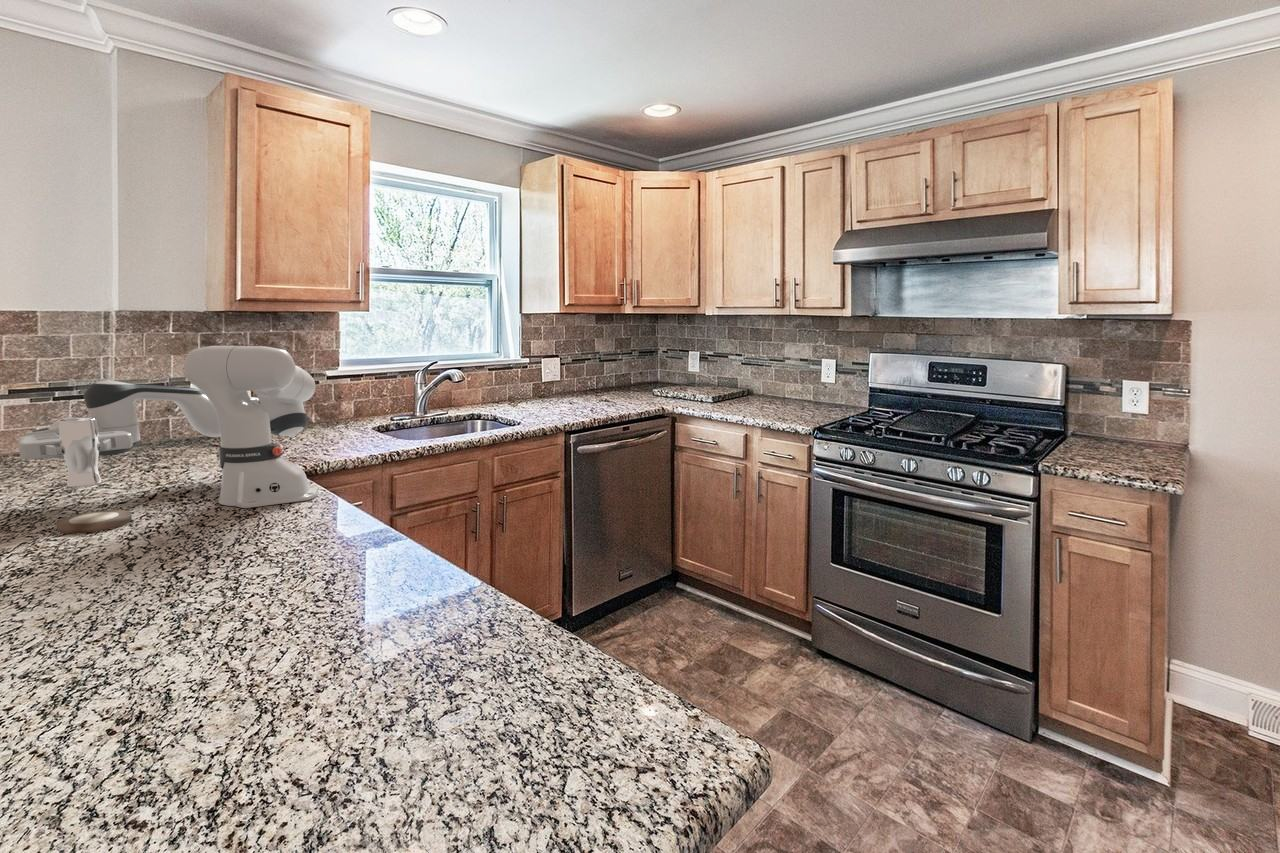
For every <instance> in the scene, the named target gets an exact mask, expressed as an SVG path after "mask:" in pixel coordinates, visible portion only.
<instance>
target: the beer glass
mask: <svg viewBox="0 0 1280 853" xmlns="http://www.w3.org/2000/svg"><path fill="white" fill-rule="evenodd" d="M66 418H67V417H66ZM60 419H61V420H59V419H58V420H59V440H60V446H61V448H62V453H63V455H64V458H65V459H64V461H65V464H66V467H67V474H68V475H67V482H66V484H67V487H68V488H83V487H84V488H86V487H92V486H96V485H97V486H98V485H100V484H102V477H101V476H100V475H101V474H100V472H99V457H100V456H99V444H100V439H99V430H98V425H97V421H96V418H93V417H89V416H88V417H87V416H86V417H85V416H84V417H83V416H82V417H74V418H67V419H62V418H60Z"/></svg>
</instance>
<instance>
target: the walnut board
mask: <svg viewBox="0 0 1280 853" xmlns="http://www.w3.org/2000/svg"><path fill="white" fill-rule="evenodd" d="M131 520H132V512H130V511H127V510H124V509H123V510H121V509H118V510H117V509H116V510H115V509H111V510H99V511H92V512H85V513H80V514H75V515H71V516H67V517H64V518H61V519H59V520H58V521H56V523H55V528H56V532H57V531H58V532H57V533H59V532H60V534H64V533H71V534H70V535H73V534H72V533H75V534H74V535H77V534H76V533H82V534H88V533H87V532H92V533H97V532H96V531H99V532H102V531H101V530H104V531H108V530H107V529H109V530H112V529H111V528H113V529H117V528H119V526H121V527H123V526H125V525H124V524H126V525H128V524H130V523H131V522H132V521H133V520H132V521H131ZM130 521H131V522H130ZM129 522H130V523H129ZM127 523H128V524H127ZM122 525H123V526H122ZM116 527H117V528H116Z"/></svg>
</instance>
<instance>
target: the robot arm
mask: <svg viewBox="0 0 1280 853" xmlns="http://www.w3.org/2000/svg"><path fill="white" fill-rule="evenodd" d="M183 370H184V374H185V376H186V379H187V380H188V381H189V382H190V384H192V385H193V386H195V387H196V388H195V387H185V386H175V385H160V384H159V385H158V384H141V383H140V384H138V383H128V382H123V381H118V380H102V381H101V380H100V381H97V382H93V383H92V384H90V385H89V387H87V389H86V390H85V391H84V393H83V399H84V403H85V406H86V409H87V411H88V417H93V418H96V421H97V425H98V430H99V439H100V444H99V456H98V457H104V456H105V457H107V456H108V457H109V456H115V455H120V454H125V453H127V452H129V451H131V450H132V449H135V447H137V445H138V444H139V443H140V442H141V440H142V439H141V432H140V426H139V425H140V424H139V420H138V414H137V408H136V403H137V401H138V400H151V401H169V402H172V403H174V404H175V405H177V407H179V409H180V411H181V412H182V413H183V415H184V416H185V418H186V420H187V423H189V424H190V425H191V427H192V428H193V429H194V430H195V431H196V432H198V433H200V434H201V435H203V436H205V437H210V438H215V437H216V438H217V437H219V438H220V444H221V445H220V447H219V450H218V456H219V465H220V468H221V485H220V493H219V498H218V500H217V503H218V504H220V505H222V506H230V507H238V508H241V509H248V508H250V509H251V508H256V507H257V508H258V507H265V506H272V505H279V504H287V503H289V504H290V503H296V502H303V501H305V502H306V501H309V500H310V501H311V500H312V499H314V498H315V497H317V496H318V494H319V492H318V490H319V489H318V488H317V487H316V486H315V485H311V484H309V481H308V478H307V474H306V473H305V471H304V470H303V468H301V467H300V466H298V465H296V464H294V463H293V462H291V461H289V460H288V459H286V458H285V457H282V451H283V449H282V447H281V445H280V444H279V443H278V444H276V443H274V442H272V435H273V436H277V437H290V436H296V435H297V434H299V433H301V432H302V431H304V430H305V429H306V428H307V426H308V425H309V424H308V422H309V421H308V415H307V413H306V410H305V406H304V403H305V402H306V401H308V400H310V399H311V398H312V397H313V395H314V394H315V392H316V382H315V381H316V380H315V379H314V378H313V376H312V375H311V374H310V373H309V372H308V371H306V370H305V369H303V368H301V367H300V366H298V365H296V364H295V361H294V359H293V357H292V355H291V354H290V353H289V352H288V351H287V350H286V349H282V348H277V347H272V346H270V347H269V346H267V345H266V346H263V345H254V346H253V345H209V346H204V347H198V348H194V349H192V350H191V351H189V353H188V354H187V355H186V357H185V359H184V363H183ZM248 392H253V393H254V394H256V395H257V397H254V396H249V393H248ZM67 418H75V417H72V416H71V417H68V416H67V417H62V418H60V419H58V420H56V421H54V422H53V423H52V424H51V425H50V427H47V428H41V429H34V430H29V431H25V434H24V436H23V437H21V438H20V440H18V441H19V442H18V447H19V456H20V459H21V460H42V459H60V460H65V458H64V455H63V453H62V448H61V446H60V440H59V420H61V419H67Z"/></svg>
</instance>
